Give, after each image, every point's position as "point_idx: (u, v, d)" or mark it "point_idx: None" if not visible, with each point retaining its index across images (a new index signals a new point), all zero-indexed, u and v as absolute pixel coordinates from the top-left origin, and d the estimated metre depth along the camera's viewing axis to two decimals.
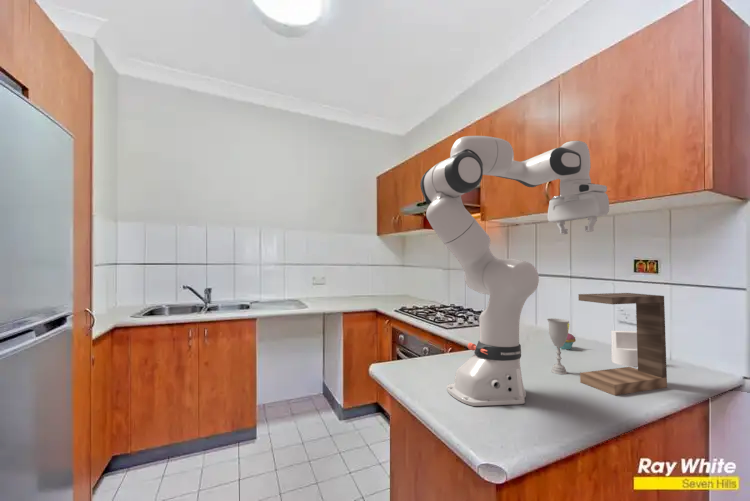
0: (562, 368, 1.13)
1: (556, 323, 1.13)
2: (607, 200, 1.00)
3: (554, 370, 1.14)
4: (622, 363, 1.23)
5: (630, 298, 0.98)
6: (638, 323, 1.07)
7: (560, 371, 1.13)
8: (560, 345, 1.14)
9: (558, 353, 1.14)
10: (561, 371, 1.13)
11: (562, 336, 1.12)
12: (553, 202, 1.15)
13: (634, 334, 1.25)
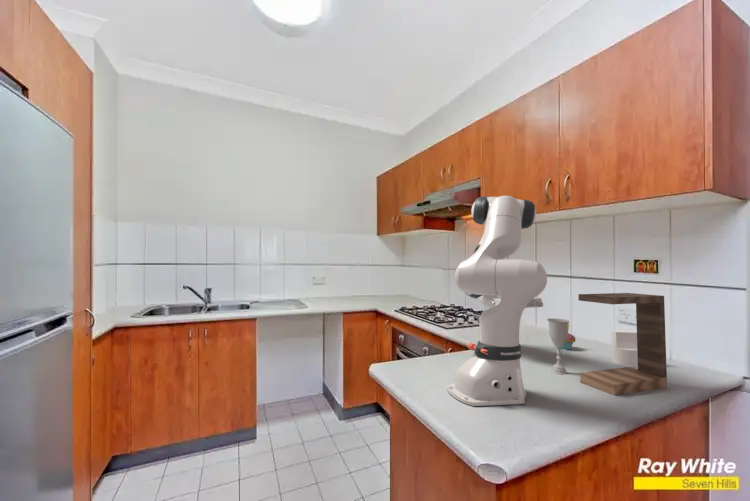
0: (562, 368, 1.13)
1: (556, 323, 1.13)
2: None
3: (554, 370, 1.14)
4: (622, 363, 1.23)
5: (630, 298, 0.98)
6: (638, 323, 1.07)
7: (560, 371, 1.13)
8: (560, 345, 1.14)
9: (558, 353, 1.14)
10: (561, 371, 1.13)
11: (562, 336, 1.12)
12: None
13: (634, 334, 1.25)
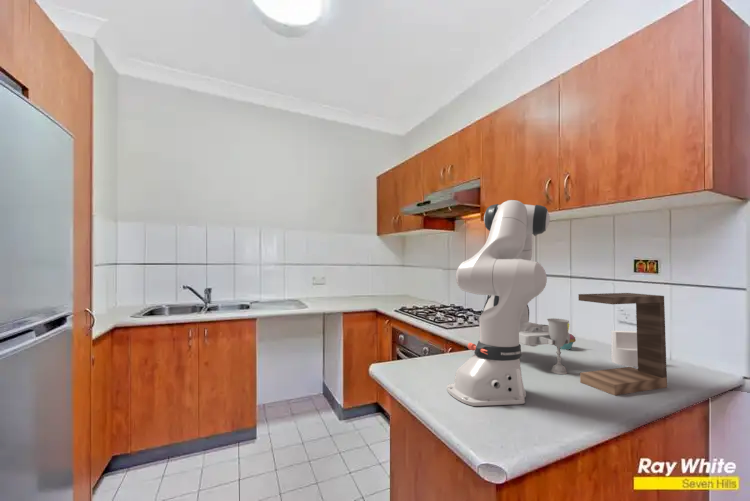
0: (562, 368, 1.13)
1: (556, 323, 1.13)
2: None
3: (554, 370, 1.14)
4: (622, 363, 1.23)
5: (630, 298, 0.98)
6: (638, 323, 1.07)
7: (560, 371, 1.13)
8: (560, 345, 1.14)
9: (558, 353, 1.14)
10: (561, 371, 1.13)
11: (562, 336, 1.12)
12: None
13: (634, 334, 1.25)
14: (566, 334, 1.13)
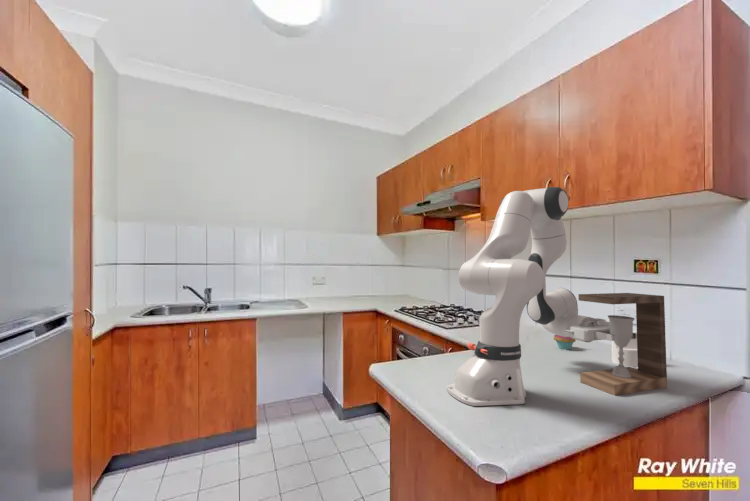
0: (626, 371, 1.01)
1: (621, 320, 1.01)
2: None
3: (616, 373, 1.02)
4: None
5: (630, 298, 0.98)
6: (638, 323, 1.07)
7: (624, 374, 1.01)
8: (624, 345, 1.02)
9: (621, 354, 1.02)
10: (625, 374, 1.01)
11: (628, 335, 1.00)
12: (574, 325, 1.11)
13: None
14: (631, 333, 1.01)
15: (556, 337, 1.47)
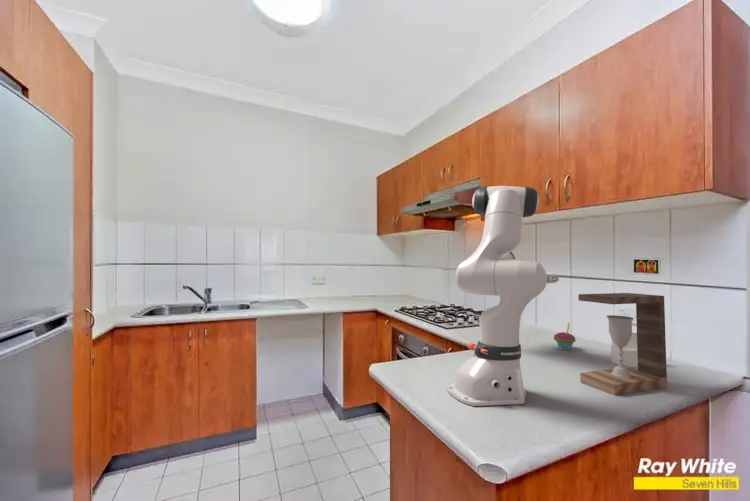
0: (626, 371, 1.01)
1: (620, 320, 1.01)
2: None
3: (616, 373, 1.02)
4: None
5: (630, 298, 0.98)
6: (638, 323, 1.07)
7: (624, 374, 1.01)
8: (623, 345, 1.02)
9: (621, 354, 1.02)
10: (625, 374, 1.01)
11: (627, 335, 1.00)
12: None
13: (634, 334, 1.25)
14: (631, 333, 1.01)
15: (556, 337, 1.47)
